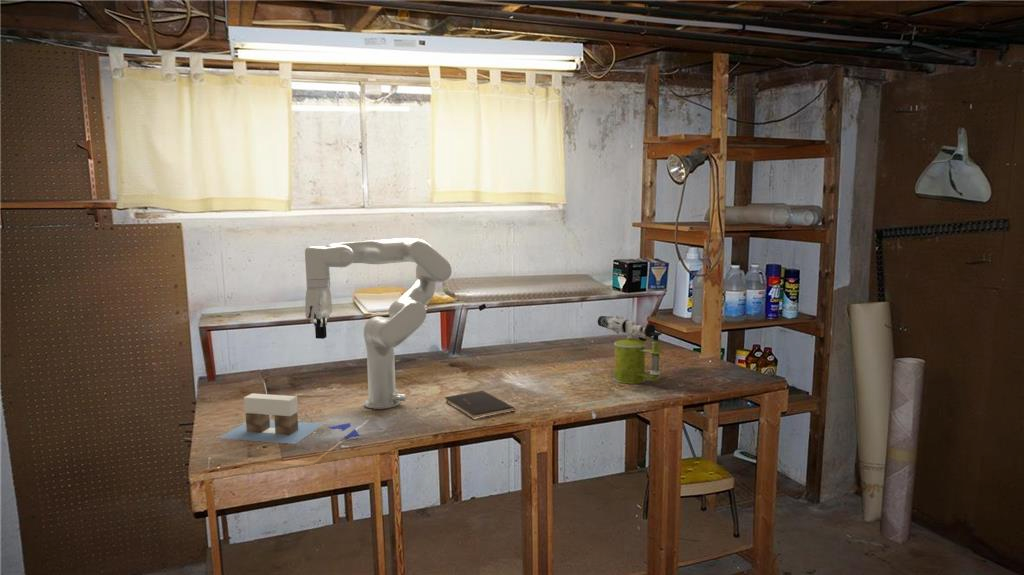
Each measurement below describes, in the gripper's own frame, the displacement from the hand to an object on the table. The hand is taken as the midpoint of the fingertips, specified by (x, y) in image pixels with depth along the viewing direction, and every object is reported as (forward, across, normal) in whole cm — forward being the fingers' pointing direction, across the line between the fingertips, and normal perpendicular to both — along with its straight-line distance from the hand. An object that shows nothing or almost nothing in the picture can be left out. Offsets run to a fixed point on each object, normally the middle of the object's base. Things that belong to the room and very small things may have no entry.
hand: (321, 337), depth 227 cm
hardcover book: (+28, -20, +49) cm, 60 cm away
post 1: (+26, +19, -13) cm, 35 cm away
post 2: (+26, +19, -3) cm, 32 cm away
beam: (+20, +19, -8) cm, 29 cm away
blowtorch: (+27, -64, +99) cm, 121 cm away
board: (+27, +19, -8) cm, 34 cm away
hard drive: (+28, +15, +14) cm, 34 cm away
